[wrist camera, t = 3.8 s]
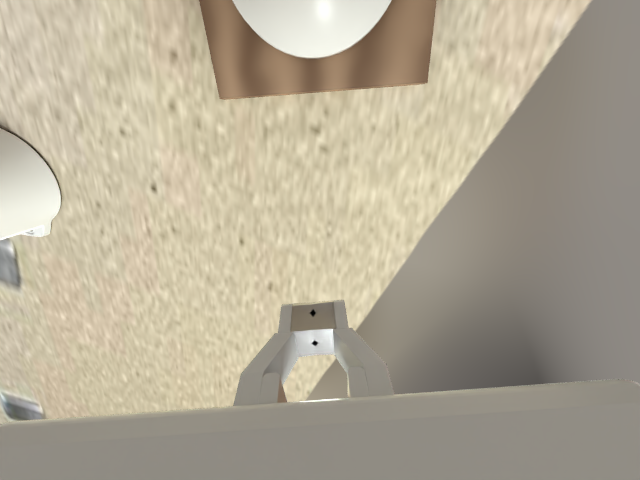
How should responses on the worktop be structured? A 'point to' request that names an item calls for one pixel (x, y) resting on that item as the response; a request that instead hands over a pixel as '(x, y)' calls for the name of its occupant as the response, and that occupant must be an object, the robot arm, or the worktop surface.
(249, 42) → the dial board
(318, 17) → the dial
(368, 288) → the worktop surface
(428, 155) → the worktop surface
